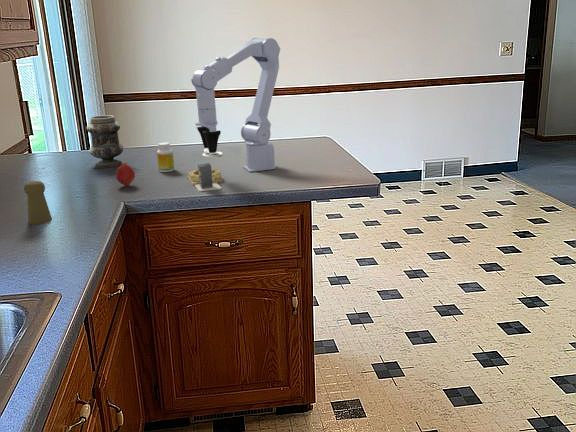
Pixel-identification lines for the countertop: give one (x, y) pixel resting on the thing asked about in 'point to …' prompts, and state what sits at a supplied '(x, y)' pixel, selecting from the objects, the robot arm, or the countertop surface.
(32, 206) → the yellow tapered knobbed piece
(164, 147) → the supplement bottle
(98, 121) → the carved stone vase
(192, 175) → the collar
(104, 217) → the countertop surface
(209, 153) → the teacup and saucer
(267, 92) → the robot arm
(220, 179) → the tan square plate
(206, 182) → the steel block
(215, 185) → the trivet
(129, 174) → the pomegranate
